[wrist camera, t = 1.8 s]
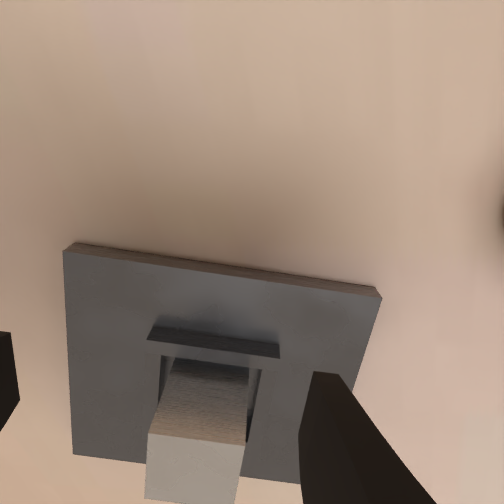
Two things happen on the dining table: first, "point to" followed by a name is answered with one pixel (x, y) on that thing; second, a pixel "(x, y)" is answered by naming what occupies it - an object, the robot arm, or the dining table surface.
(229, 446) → the grey textured cube
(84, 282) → the stand foot
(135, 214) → the dining table surface
